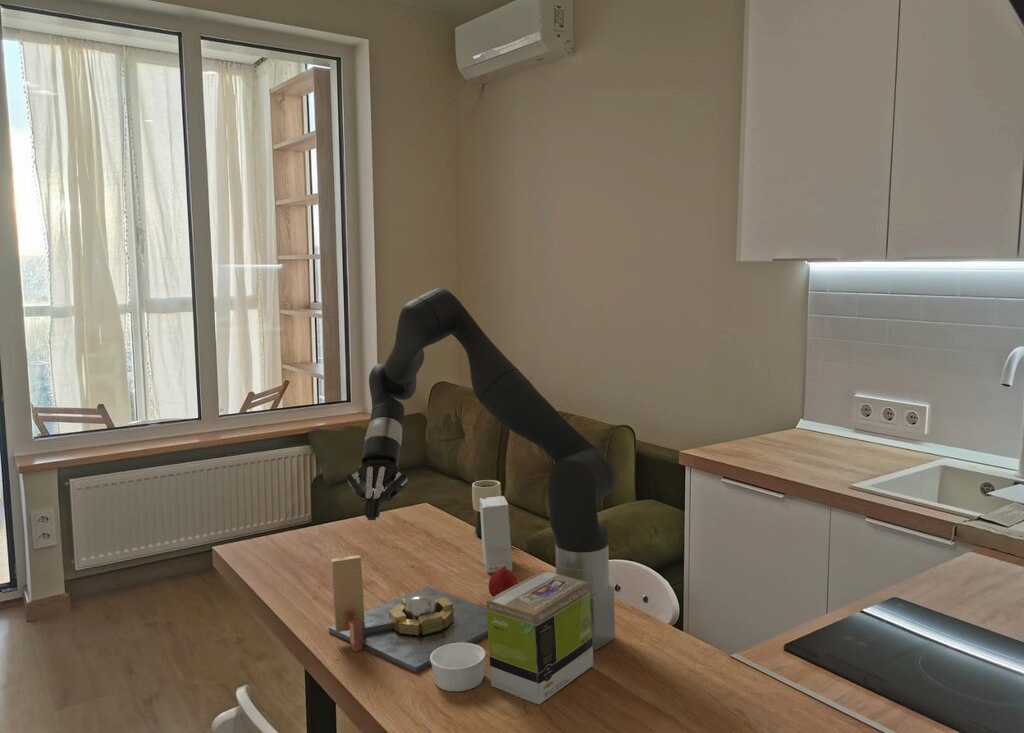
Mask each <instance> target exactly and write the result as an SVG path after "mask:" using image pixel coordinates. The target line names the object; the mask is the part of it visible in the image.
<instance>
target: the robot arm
mask: <svg viewBox="0 0 1024 733" xmlns="http://www.w3.org/2000/svg"><path fill="white" fill-rule="evenodd" d="M450 335H452V336H453V337H454V338H456V340H457V341H458V342H459V343H460V345H461V346H462V348H463V349H464V350H465V352H466V356H467V358H468V364H469V373H470V381H471V386H472V391H473V393H474V396H475V398H476V399H477V401H478V402H480V404H481V405H482V407H483V408H484V409H485V410H486V411H487V412H488V414H490V415H491V416H492V418H494V420H496V422H498V423H499V424H500V425H502V426H503V427H504V428H506V429H508V430H509V431H511V432H513V433H515V434H516V435H517V436H520V437H521V438H524V439H525V440H527V441H528V442H531V443H532V444H535V445H536V446H537V447H539V448H540V449H541V450H543V451H544V452H545V453H546V455H547V456H549V457H550V458H551V460H553V461H554V463H553V464H552V466H551V468H550V470H549V472H548V477H547V499H548V512H549V522H550V528H551V530H552V532H553V535H554V540H555V542H554V543H555V544H554V546H555V574H558V575H562V576H566V577H570V578H574V579H579V580H583V581H587V582H590V601H591V620H592V645H593V652H594V651H597V650H599V649H600V648H601V647H604V646H605V645H606V644H608V643H609V642H611V641H613V640H614V638H615V639H616V627H615V626H616V625H615V624H616V621H615V619H616V618H615V587H614V586H613V585H610V572H609V571H610V567H609V566H610V565H609V562H610V561H609V558H610V557H609V530H608V528H607V527H606V526H605V525H604V523H601V522H599V519H598V518H599V517H598V507H597V506H598V505H597V504H598V503H597V502H599V501H600V500H602V499H604V498H605V497H607V496H608V495H609V494H611V493H612V491H613V490H614V486H615V483H616V474H615V470H614V467H613V465H612V463H611V461H610V460H609V459H608V457H607V456H606V455H605V454H604V453H603V452H602V451H601V450H600V449H598V448H597V447H596V446H595V445H594V444H593V443H591V442H590V441H589V440H588V439H587V438H586V437H585V436H583V434H581V433H580V432H579V431H578V430H576V429H575V428H574V427H573V426H572V425H571V424H570V423H569V422H567V420H566V419H565V418H564V417H563V416H562V415H561V414H560V413H559V411H557V410H556V408H555V407H553V405H552V404H551V403H550V402H549V401H548V400H547V399H546V398H545V397H544V396H543V395H542V394H541V393H540V392H539V391H538V389H537V388H536V387H535V386H534V385H533V384H532V383H531V381H530V380H529V379H528V378H527V377H526V376H525V375H524V374H523V373H522V372H521V371H520V370H519V368H518V367H516V366H515V365H514V364H513V362H511V360H509V359H508V358H507V357H506V355H504V354H503V352H502V351H501V349H499V348H498V347H497V346H496V345H495V344H494V342H492V340H491V339H490V338H489V337H488V336H487V334H486V333H485V332H484V330H482V328H481V327H480V325H479V324H478V323H477V322H476V320H475V319H474V318H473V316H472V315H471V314H470V313H469V311H468V309H466V307H465V306H464V305H463V304H462V302H461V301H460V300H459V299H458V298H457V297H456V296H455V295H454V294H453V293H452V292H451V291H450V290H448V289H446V288H444V287H437V288H434V289H432V290H430V291H428V292H425V293H424V294H422V295H420V296H417V297H416V298H414V299H412V300H410V301H408V302H406V304H404V306H402V308H401V311H400V313H399V317H398V321H397V328H396V332H395V341H394V345H393V347H392V349H391V351H390V353H389V355H388V356H387V359H386V360H385V363H378V364H375V365H374V366H373V367H372V369H371V370H370V373H369V376H368V386H369V392H370V393H369V394H370V396H371V412H370V419H369V424H368V427H367V430H366V434H365V437H364V445H363V451H362V457H361V464H360V465H359V467H358V468H357V471H356V472H355V473H353V474H347V475H346V476H345V478H346V480H347V483H348V484H349V486H350V487H351V489H352V490H353V492H354V493H355V495H356V497H357V498H358V499H359V501H361V502H365V505H364V509H363V510H364V511H363V513H364V516H365V517H366V518H367V521H377V518H379V517H380V514H381V508H382V504H383V502H391V501H392V499H394V497H395V496H397V495H398V494H399V493H400V492H401V490H403V489H404V488H405V486H407V485H408V483H409V480H408V478H407V475H406V473H401V472H400V470H399V467H398V466H399V459H400V455H401V454H400V452H401V448H402V447H401V445H402V440H403V425H404V418H405V417H404V416H405V406H404V404H403V403H402V402H400V401H407V400H409V399H411V398H412V397H413V395H414V394H415V393H416V389H417V382H418V381H417V375H418V372H419V371H420V369H421V368H422V365H424V361H425V352H424V349H425V348H427V347H428V346H431V345H434V344H436V343H438V342H441V341H442V340H444V339H446V338H447V337H449V336H450ZM360 479H361V481H362V482H363V484H364V485H365V488H366V489H365V491H363V489H362V488H361V487H360V485H359V484H360Z"/></svg>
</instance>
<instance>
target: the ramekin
mask: <svg viewBox="0 0 1024 733" xmlns="http://www.w3.org/2000/svg"><path fill="white" fill-rule="evenodd" d="M486 655H487V654H486V650H485V649H484V648H483V647H482V646H480V645H478V644H475V643H473V644H472V643H452V644H447V645H444V646H441V647H439V648H437V649H436V650H434V651H433V652H432V654H431V656H430V661H431V664H432V665H431V667H432V674H433V681H434V683H435V685H436V686H437V687H438V688H439V689H440V690H443V691H447V692H451V691H453V692H454V693H456V692H457V693H460V692H459V691H461V692H467V691H470V690H472V688H473V689H475V688H477V687H478V686H480V684H481V683H483V679H484V677H485V661H486V660H485V659H486ZM466 690H467V691H466ZM455 691H456V692H455ZM453 692H452V693H453Z"/></svg>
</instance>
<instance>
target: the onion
mask: <svg viewBox="0 0 1024 733" xmlns="http://www.w3.org/2000/svg"><path fill="white" fill-rule="evenodd" d="M518 583H519V580H518V579H517V577H516V575H515V574H514V572H512V571H509V570H508V569H506V566H505V565H502V566H501V567H500V568H499V569H498V570H497V571H496V572H492V575H491V576H490V578H489V581H488V591H489V592H488V593H489V594H490V595H491V598H492V597H494V596H496V595H498V594H499V593H501V592H503V591H505V590H507V589H509V588H510V587H512V586H514V585H516V584H518Z"/></svg>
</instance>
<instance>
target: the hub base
mask: <svg viewBox="0 0 1024 733" xmlns="http://www.w3.org/2000/svg"><path fill="white" fill-rule="evenodd" d="M443 597H446V598H447V599H448V600H449V601H450V602H451V603H452V604H453V616H454V620H453V621H452V622H451V623H450V624H449V625H448V626H447V628H443V630H440V631H436V632H432V633H428V634H424V635H423V634H422V633H420V634H419V635H413V634H404V633H399V631H397V632H396V631H395V630H394V629H393V628H391V629H385V630H380V631H374V632H369V633H363V634H362V622H361V621H360V620H359V619H355V620H351V621H349V626H350V630H347V631H342V632H336V629H335V624H334V625H331V626H329V627H328V633H329V634H332V635H333V636H336V637H338V638H340V639H342V640H344V641H346V642H347V643H348V642H349V643H350V649H351V650H352V651H353V652H358V651H361V650H366V651H367V652H370V653H372V654H374V655H376V656H379V657H381V658H382V659H384V660H387V661H389V662H392V663H394V664H396V665H398V666H400V667H401V668H404V669H407V670H408V671H410V672H413V673H415V674H417V673H419V672H421V671H423V670H425V669H426V668H429V667H430V665H431V666H432V664H431V661H430V656H431V654H432V652H433V651H434V650H436V649H437V648H439V647H441V646H444V645H447V644H452V643H472V644H475V643H477V642H478V641H480V640H482V639H484V638H486V637H488V620H487V606H486V607H485V606H483V605H481V604H478V603H475V602H472V601H469V600H466V599H463V598H460V597H458V596H455V595H451V594H449V593H447V592H444V591H441V590H439V589H435V588H432V587H430V586H424V587H421V588H419V589H416V590H413V591H410V592H408V593H407V594H405V595H402V596H400V597H398V598H395V599H393V600H391V601H388V602H385V603H383V604H381V605H379V606H376V607H373V608H371V609H369V610H366V611H364V621H365V623H370V622H376V621H381V620H387V619H389V612H388V610H392V609H393V608H394V607H395V606H397V605H398V604H400V605H401V599H402V598H405V608H406V619H412V620H418V617H419V616H423V615H427V614H432V613H436V599H439V598H443Z"/></svg>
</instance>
